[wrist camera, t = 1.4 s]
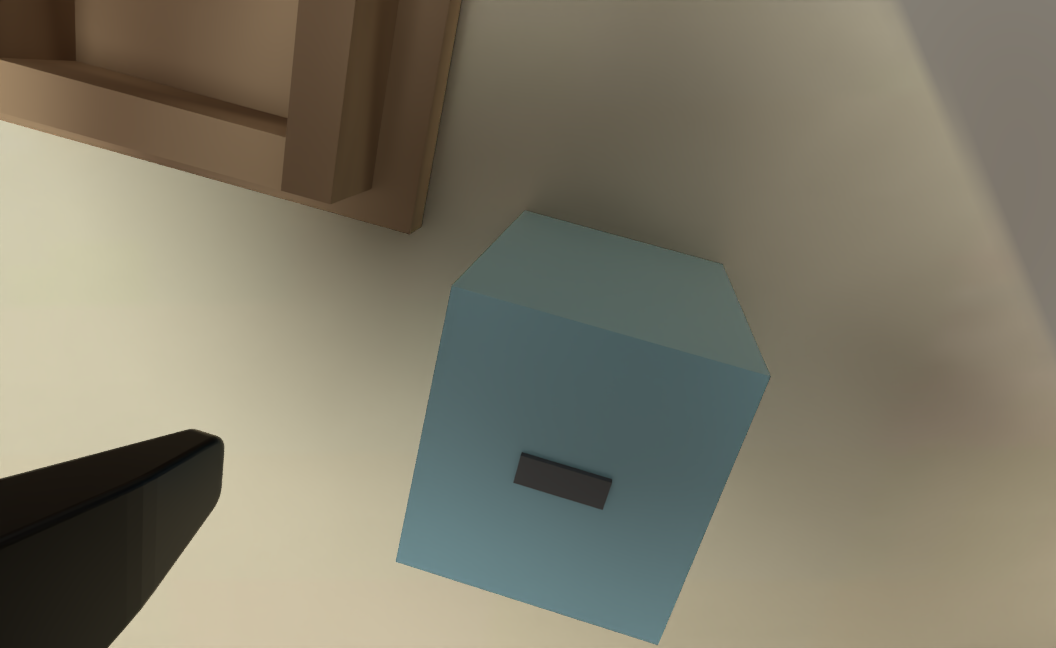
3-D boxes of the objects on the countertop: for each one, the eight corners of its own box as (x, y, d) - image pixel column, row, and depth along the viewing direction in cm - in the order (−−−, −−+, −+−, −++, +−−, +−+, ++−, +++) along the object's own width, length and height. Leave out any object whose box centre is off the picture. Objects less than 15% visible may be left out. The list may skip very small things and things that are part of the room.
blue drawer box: (722, 264, 14) (772, 379, 9) (653, 453, 16) (657, 650, 11) (525, 210, 15) (449, 288, 9) (479, 401, 17) (393, 565, 11)
